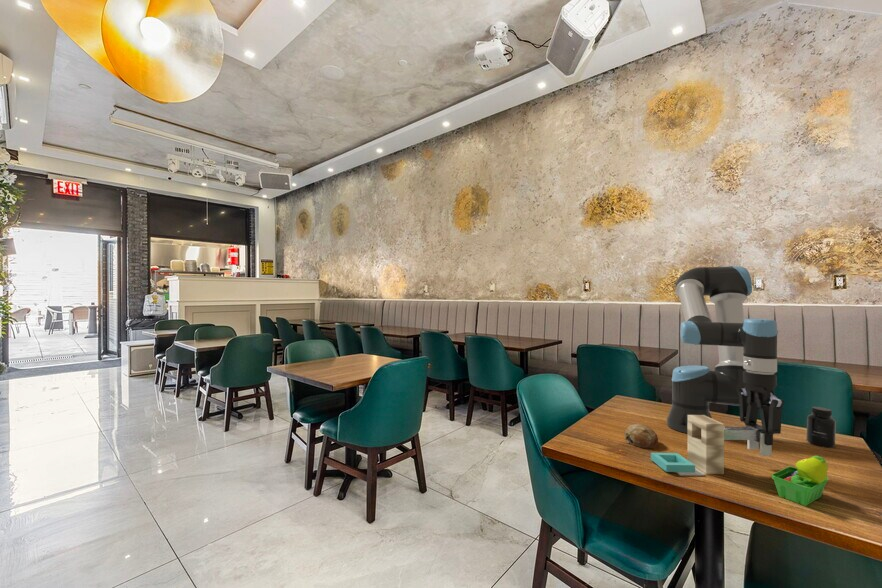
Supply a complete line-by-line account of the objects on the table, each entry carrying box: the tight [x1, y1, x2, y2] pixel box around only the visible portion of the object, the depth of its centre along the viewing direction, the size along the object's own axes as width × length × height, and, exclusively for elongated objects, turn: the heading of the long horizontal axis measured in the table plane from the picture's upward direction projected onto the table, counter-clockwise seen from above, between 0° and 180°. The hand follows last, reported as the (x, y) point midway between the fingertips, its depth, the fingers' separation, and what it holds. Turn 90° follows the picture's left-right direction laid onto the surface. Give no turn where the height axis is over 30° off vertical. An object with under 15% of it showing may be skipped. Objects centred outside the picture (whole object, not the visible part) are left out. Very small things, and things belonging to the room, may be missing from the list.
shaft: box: [724, 424, 763, 443], centre depth 108 cm, size 17×4×4 cm, turn 90°
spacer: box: [650, 452, 696, 473], centre depth 108 cm, size 8×2×8 cm
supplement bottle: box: [806, 406, 837, 448], centre depth 126 cm, size 7×7×12 cm
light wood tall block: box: [686, 415, 725, 475], centre depth 108 cm, size 5×8×14 cm, turn 0°
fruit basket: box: [771, 455, 830, 507], centre depth 92 cm, size 11×9×11 cm
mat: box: [669, 462, 706, 477], centre depth 108 cm, size 10×7×1 cm
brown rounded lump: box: [624, 423, 659, 449], centre depth 126 cm, size 10×10×8 cm
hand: (759, 451), depth 108 cm, fingers closed on shaft, 4 cm apart
